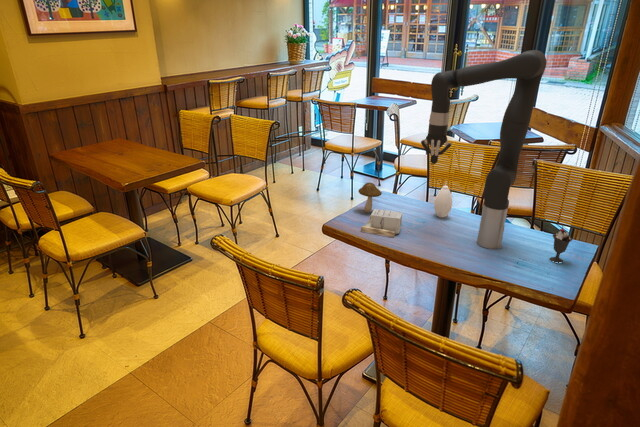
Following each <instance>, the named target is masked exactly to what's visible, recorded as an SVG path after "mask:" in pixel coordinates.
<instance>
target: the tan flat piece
mask: <svg viewBox="0 0 640 427" xmlns="http://www.w3.org/2000/svg"><path fill="white" fill-rule="evenodd" d="M401 222H403V221H402V219H401ZM370 224H371V214H370V215H369V219H368V221H367V222H366V223H365V225H361V227H360V228H361V229H360V232H362V233H366V234H370V235H372V234H373V235H377V236H383V237H386V238H387V237H388V238H395V236H396V234H397V233H395V232H394V231H389V230H383V229H378V228H372V227H370Z"/></svg>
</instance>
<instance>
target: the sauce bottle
mask: <svg viewBox="0 0 640 427" xmlns="http://www.w3.org/2000/svg"><path fill="white" fill-rule="evenodd" d="M447 183H448V182H447V180H446V181H445V184H444V185H442V187H441V189H440V190H439V191H438V193H437V195H436V197H435V199H434V203H433V204H434V205H433V209H434V212H435V214H436V215H437V216H438V217H439V218H442V219H443V218H445V217H447V216H448V215H449V214H450V212H451V211H452V207H453V197H452V192H451V189H449V186H448V185H447Z"/></svg>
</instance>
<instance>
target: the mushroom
mask: <svg viewBox="0 0 640 427" xmlns="http://www.w3.org/2000/svg"><path fill="white" fill-rule="evenodd" d="M358 194H359V195H361V196H364V197H367V200H366V203H365V205H364V208H363V210H364V213H371V211H372V210H373V198H376V197H380V196H381V195H382V194H383V193H382V191H381V190H380V189H379V188H377V186H376V185H375V184H374V183H373V182H366V183H364V184H363V185H362V187H360V188H359V189H358Z"/></svg>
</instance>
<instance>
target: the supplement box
mask: <svg viewBox="0 0 640 427" xmlns="http://www.w3.org/2000/svg"><path fill="white" fill-rule="evenodd" d="M372 210H373V211H372V212H371V214H370V215H371V224H370V227H372V228H378V229H383V230H389V231H394V232H395V233H396V234H400V230H401V226H402V221H401V220H402V217H403V212H400V211H394V210H393V211H392V210H385V209H377V208H374V209H372Z"/></svg>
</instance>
